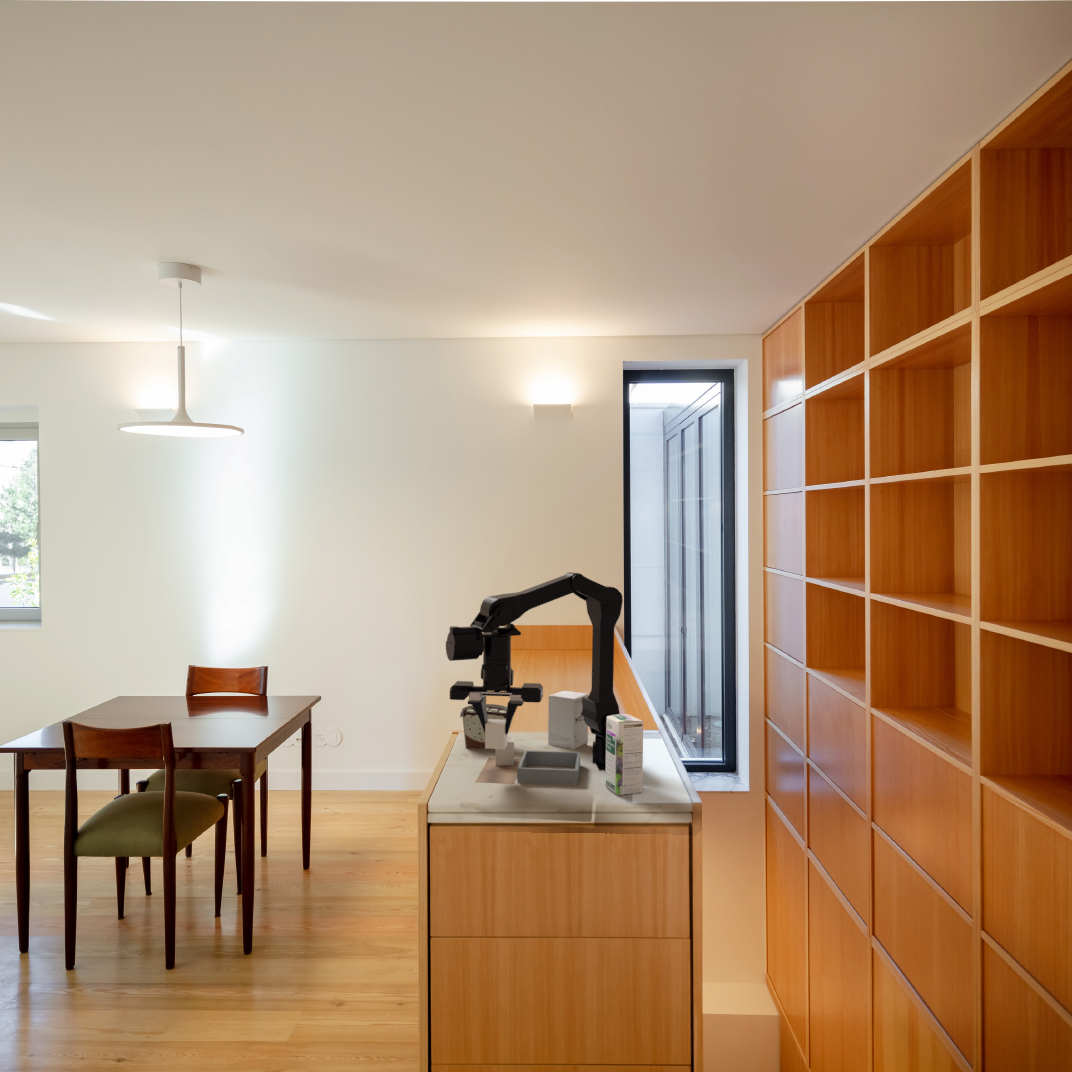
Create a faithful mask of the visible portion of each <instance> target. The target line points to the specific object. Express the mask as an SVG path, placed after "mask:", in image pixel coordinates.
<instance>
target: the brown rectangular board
mask: <svg viewBox="0 0 1072 1072" xmlns="http://www.w3.org/2000/svg"><path fill="white" fill-rule="evenodd" d="M520 761H521V758H515V757H514V765H495V757H488V758H487V760H486V762H485V764H484V766H483V767H482V769H481V771H480V772H479V775H478V776H477V778H476V780H475V781H474V782H475V783H489V784H508V785H509V784H511V785H512V784H513V785H515V783H516V782H517V781H516V780H517V768H518V766H519V763H520Z"/></svg>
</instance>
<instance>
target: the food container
mask: <svg viewBox="0 0 1072 1072" xmlns="http://www.w3.org/2000/svg"><path fill="white" fill-rule="evenodd" d="M486 710H487V721H488V719H501V720H506V715H507V705H502V704H493V703H486ZM459 715H460V716H459V718H462V724H463V734H464V745H465V749H482V750H483V749H484V750H485V732H484V730H483V727H482V725H481V722H480V719H479V717H478V715H477V713H476V711H475V709H474V707H473V706H472V705H471V704H470V705H466V706H465V707H462V709H461V711H460V714H459Z"/></svg>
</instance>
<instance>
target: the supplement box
mask: <svg viewBox="0 0 1072 1072" xmlns="http://www.w3.org/2000/svg"><path fill="white" fill-rule="evenodd" d="M588 696H589V693H585V692H578V691H573V690H571V691H569V690H562V691H559V692H556V693H553V694H550V695H548V712H547V713H548V715H547V716H548V718H547V719H548V721H547V722H548V723H547V726H548V727H547V729H548V730H547V744H548V745H549V746H553V747H559V748H565V749H571V750H576V749H577V748H579V747H580V746H583V745H585V744H586V745H587V743H588V744H589V726H588V725H587V724H586V723H585V721H584V716H582V715H581V713H582V708H583V707H582V698H583V697H584V698H588Z"/></svg>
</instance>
